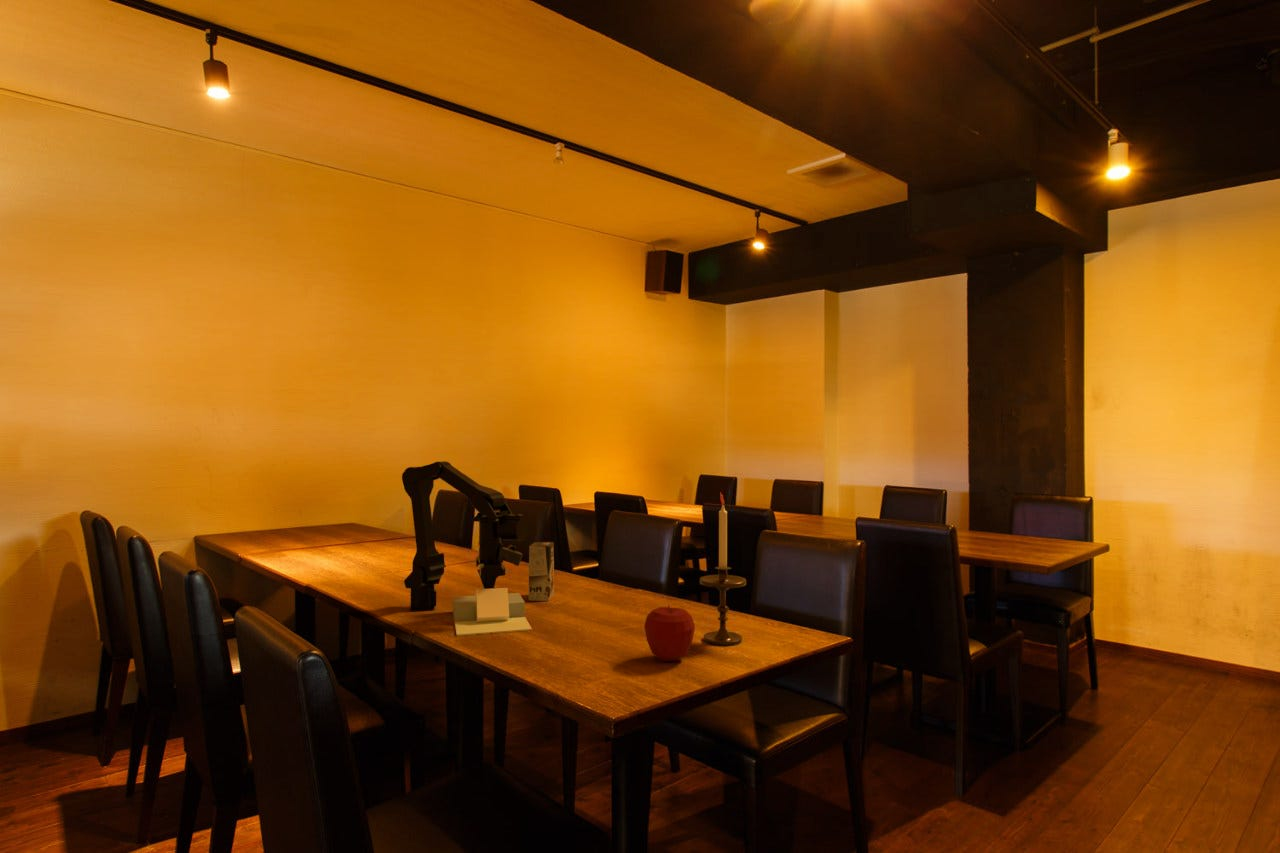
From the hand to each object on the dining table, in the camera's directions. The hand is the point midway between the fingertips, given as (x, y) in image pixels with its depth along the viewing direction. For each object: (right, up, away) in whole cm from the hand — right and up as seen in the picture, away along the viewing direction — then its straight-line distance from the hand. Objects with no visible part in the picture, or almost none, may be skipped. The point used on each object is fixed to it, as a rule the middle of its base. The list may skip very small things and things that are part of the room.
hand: (489, 597), depth 184 cm
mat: (+3, -5, -10) cm, 12 cm away
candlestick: (+60, -5, -21) cm, 63 cm away
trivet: (+1, -2, -4) cm, 4 cm away
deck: (-1, -5, +2) cm, 6 cm away
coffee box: (+11, -6, +23) cm, 26 cm away
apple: (+46, -5, -35) cm, 59 cm away
